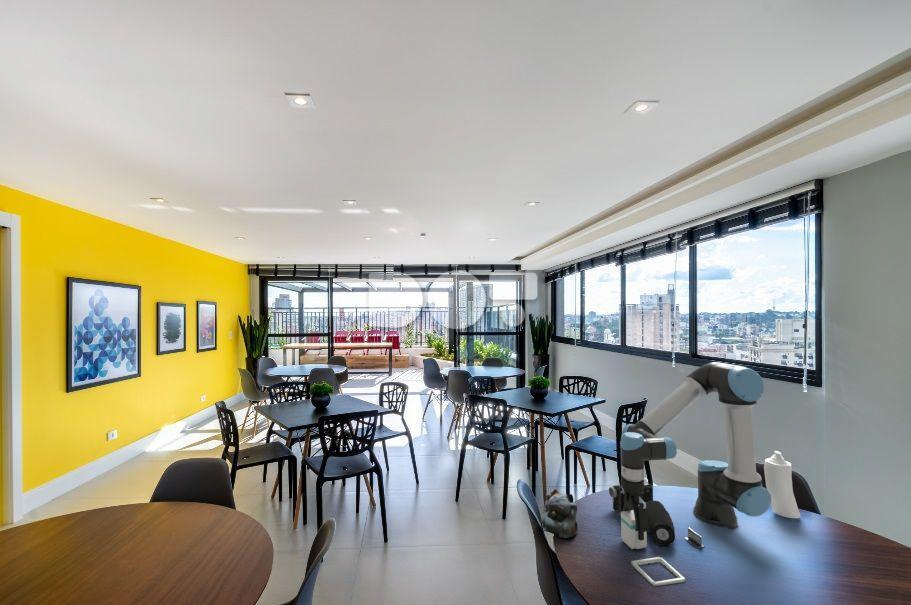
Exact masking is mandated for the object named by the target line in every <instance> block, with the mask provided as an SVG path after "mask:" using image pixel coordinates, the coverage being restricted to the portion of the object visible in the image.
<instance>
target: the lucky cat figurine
mask: <svg viewBox="0 0 911 605" xmlns="http://www.w3.org/2000/svg"><path fill="white" fill-rule="evenodd" d="M545 498H546V500H545V502H544V508H545V511H544V512H545V513H543V515H541V518H540V523H541V524H542V528H543V531H544V532H547V533H549V534H550V533H551V534H552V535H555V536H556V537H559V538H561V539H567V538H571V537H573V536H575V535H576V534H577V533H578V532H579V529H578V527H579V526H578V522H577V519H576V518H577V512H578V505H577V503H575V502H574V500H575V499H574V496H573V494H572V493H570V494H565V493H560V492H559V490H558V489H557V488H554V490H552V492H548V493H545Z"/></svg>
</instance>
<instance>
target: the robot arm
mask: <svg viewBox="0 0 911 605" xmlns="http://www.w3.org/2000/svg"><path fill="white" fill-rule="evenodd" d="M714 392H715V393H718V402H719V403H720V404H721V405H722V406H723V414H724V428H725V441H726V456H727V457H726V458H727V461H721V460H713V459H709V460H708V459H707V460H700V461H699V462H698V465H697V466H698V467H697V470H696V471H697V498H696V501H695V504H694V506H693V509H692V513H693V515H694V516H695V517H696V518H697V519H698V520H700V521H702V522H704V523H707V524H709V525H712V526H716V527H723V528H727V529H728V530H732V529H736V528H737V527H738V517H737V515H736V511H735V509H736V510H737V511H738V512H739V513H742V514H744V515H745V516H748V517H752V518H753V517H755V518H756V517H759V516H762V515H764V514H765V513H766V512H767V511H768V510H769V508H770V507H771V494H770V492H769V491H768V490H767V487H764V486H763V480H762V479H763V478H762V476H761V474H760V473H758V472H757V466H756V465H757V464H756V451H755V450H756V449H755V447H756V446H755V434H754V421H753V420H754V419H753V416H754V415H753V407H755V406H756V405H757V401H758V400H759V399H760V398H762V394H764V392H765V383H764V380H763V379H762V376H761V375H760V374H759V373H758V372H757V371H755V369H752V368H749V367H746V366H742V365H736V364H730V363H725V362H724V363H723V362H719V361H713V362H709V363H706V364H703V365H702V366H700V367H698V368H695V369H694V370H693V371H691V372H690V373H689V374H688V375H687V376H686V377H684V380H683V383H682V384H680V385H679V386H678V387H677V388H676V389H675V390H673V391H672V392H671V393H670V394H669V395H668V396H666V397H665V398H664V399H663V400H662V401H661V402H660V403H658V404H657V405H656V406H654V408H653V409H652V410H650V411H649V412H648V413H647V414H645V415H644V416H643V417H642V418H641V419H640V420H639V421H638V422H636V423H635V424H633V423H628V424H626V425H624V427H623V428H622V430H621V436H620V437H621V438H620V463H621V464H620V465H621V466H620V467H621V468H620V469H621V470H620V471H621V472H620V473H621V474H620V475H621V477H620V482H621V484H620V485H621V486H622V487H619V512H618V513H619V515H621V512H622V511H631V508H632V509H633V511H634V516H635V522H636V527H637V529H635V549H636V550H641V549H643V548H645V547H644V542H643V540H644V532H646V531H647V532H648V531H649V529H648V512H647V509H648V503H647V502H644V501H643V500H642V495H641V493H642V492H643V491H644V484H645V461H648V462H649V461H661V460H664V461H667V460H670V459H675V457H676V456H677V453H678V449H677V445H676V443H675V442H676V441H675V440H673V438H671V437H668V436H657V435H658V434H659V433H660V432H661V431H662V430H664V429H665V428H666V427H667V426H669V425H670V424H671V423H672V422H673V421H674V420H675V419H676V418H677V417H679V416H680V415H681V414H682V413H684V411H685V410H687V409H688V408H689V407H690V406H691V405H692V404H693V405H694V403H695V402H696V401H697V400H698V399H700V398H705V397H706V396H707V395H709V394H711V393H714ZM637 505H638V506H637ZM622 509H623V510H622Z"/></svg>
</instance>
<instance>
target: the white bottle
mask: <svg viewBox="0 0 911 605" xmlns="http://www.w3.org/2000/svg"><path fill="white" fill-rule="evenodd" d="M773 453H774V454H772V455H771V456H770V457H768V458H765V460H764V464H763V470H764V471H763V472H764V479H765V486H766V487H765V488H766V489H767V490H768V491H769V492H770V494H771V504H770V507H771V510H772V511H773V512H774V513H775V514H777V515H779V516H782V517H785V518H789V519H799V518H801V517H802V516H801V513H800V510H799V508H798V505H797V500H796V497H795V493H794V489H793V488H794V487H793V477H792V476H793V475H792V472H793V471H792V470H793V467H792V463H791V462H789V461H786V460H785V457H783V455H782V453H781V452H780V451H778V450H774V452H773Z"/></svg>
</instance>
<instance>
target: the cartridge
mask: <svg viewBox="0 0 911 605" xmlns="http://www.w3.org/2000/svg"><path fill="white" fill-rule="evenodd" d="M635 529H637V527H636V522H635V516H634V511H633V510H631V511H622V512H621V514H620V530H621V531H620V534H621V536H620V537H621V539H620V540H622V541H623V543H625V544H626V545H627V546H628V547H629V548H630V549H631V550H633V549H636V548H635ZM647 532H648V531H646V532H644V540H643V542H644V548H646V547H648V542H647V541H648V538H647V537H648V535H647V534H648V533H647Z"/></svg>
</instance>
